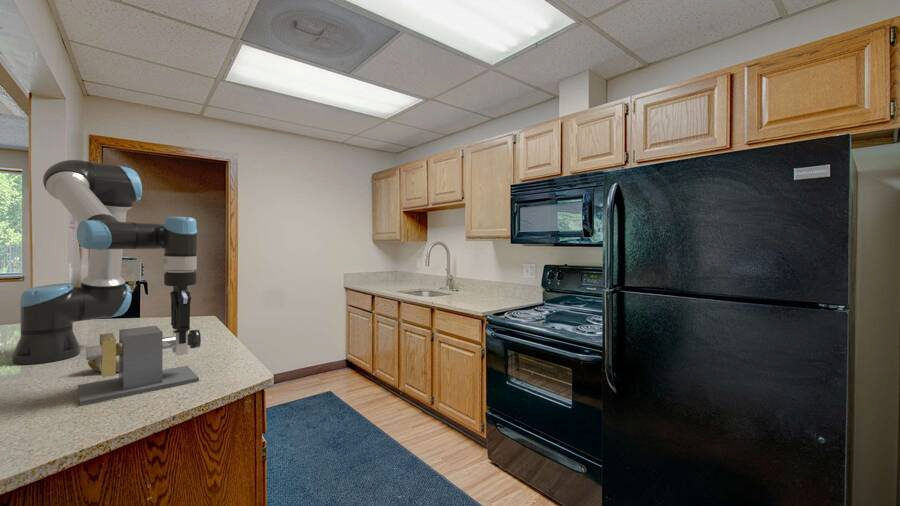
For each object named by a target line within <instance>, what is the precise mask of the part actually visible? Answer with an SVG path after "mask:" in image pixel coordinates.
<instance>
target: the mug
mask: <svg viewBox="0 0 900 506" xmlns="http://www.w3.org/2000/svg"><path fill="white" fill-rule="evenodd" d="M87 361H88V362H87V364H88V366H89V367H90V369H92V370H94V371H97V372H101V371H100V358H99V359H92V360H87ZM116 373H119V356H116Z"/></svg>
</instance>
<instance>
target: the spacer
mask: <svg viewBox="0 0 900 506" xmlns="http://www.w3.org/2000/svg"><path fill="white" fill-rule="evenodd" d="M116 343H117V339H116V337H115V334H114V333H113V332H112V333H111V332H110V333H100V334H99V346H100V345H101V347H102V358H100V371H99V372H100V373H101V376H102V378H108V377H115V376H116V375H117V371H116Z"/></svg>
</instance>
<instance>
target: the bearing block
mask: <svg viewBox="0 0 900 506" xmlns="http://www.w3.org/2000/svg"><path fill="white" fill-rule="evenodd" d="M163 337H164V336H163V331H162V330H161V329H160V327H158V325H149V326H140V327H131V328H122V329H119V330H118V343H122V355H119V372H118V378H119V381H120V383H121V386H122V388H123V390H128V389H133V388H138V387H143V386H148V385H153V384H158V383H162V370H163V350H164V349H163Z"/></svg>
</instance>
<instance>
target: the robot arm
mask: <svg viewBox="0 0 900 506" xmlns="http://www.w3.org/2000/svg"><path fill="white" fill-rule="evenodd" d="M42 183H43V184H42V185H43V187H44V188H45V190H46V192H47V193H48V194H49V195H50V196H51V197H53V198H54V199H55V200H56V199H57V200H58V201H60V203H61V204H62V205H63V206H64V208H65V209H66V210H67V211H68V213H69V214H70V215H71V216H72V218H73V219H74V220H75V222H76V223H77V224H78V225H77V227H76V239H77V244H78V246H80V247H81V248H83V249H85V250H89V255H88V267H87V268H88V269H87V276H85V277H84V278H82V279H81V281H80V286H75V287H74V285H73V284H72V283H55V284H54V283H53V284H46V285H41V286H40V285H39V286H34V287H31V288H27V289H26V290H24V291H23V292H22V293H21V295H20V301H19V302H20V303H19V307H20V337H19V340H18V342H17V344H16V346H15V349H14V350H13V353H12V358H11V360H12V363H13V364H16V365H35V364H43V363H44V364H45V363H46V364H47V363H50V362H56V361H61V360H67V359H70V358H73V357H76V356H77V355H79V354H80V353H81V346H80V344H79V341H78V339H77V337H76V335H75V333H74V330H73V328H74V327H73V326H74V322H75V323H76V322H83V321H90V320H98V319H99V320H100V319H110V318H113V317H119V316H120V317H121V316H123V315H124V314H125V313H126V312H127V311H128V309H129V308H130V306H131V302H132V288H131V287H130V285H128V284H126V280H125V279H124V278H123V277H122V276H121V272H122V263H123V252H124V250H164V251H163V252H164V253H163V256H164V259H162V260H161V263H162V264H164V270H165V272H164V274H163V275H164V276H163V284H164V286H167V287H172V291H170V294H169V295H170V301H171V302H170V313H171V315H170V316H171V318H170V319H171V320H170V321H171V322H170V325H171V326H172V336H176V347H174V348H172V353H175V356H176V357H177V356H184V355H188V353H189V351H188V347H189V345H188V334H189V331H190V329H191V326H190V324H191V323H190V322H191V302H192V301H191V300H192V297H191V292H190V291H189V290H188V289H189V288H188V287H189V286H194V285H196V284H197V272H196V270H197V268H198V266H197V261H198V259H197V258H198V256H197V246H198V244H197V242H198V239H197V238H198V234H197V233H198V229H197V220H196V219H195V218H193V217H189V216H166V217H165V218H164V223H161V222H160V223H156V222H155V223H153V222H152V223H149V222H130V221H126V220H127V212H128V211H129V210H131V209H132V208H133V206H134V203H136V202H139V201H140V200H141V198H142V195H143V185H142V180H141V178H140V175H138V173H137V171H135V170H134V169H133V168H131V167H126V166H120V165H115V164H108V163H102V162H93V161H86V160H83V159H82V160H80V159H68V160H62V161H58V162H57V163H54V164H53V165H51V166H49V168H47V169H46V171H45V172H44V174H43V177H42Z"/></svg>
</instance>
